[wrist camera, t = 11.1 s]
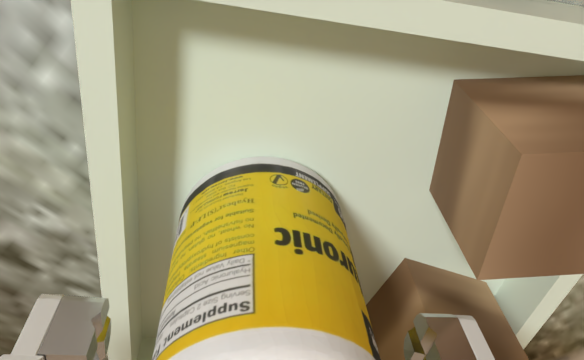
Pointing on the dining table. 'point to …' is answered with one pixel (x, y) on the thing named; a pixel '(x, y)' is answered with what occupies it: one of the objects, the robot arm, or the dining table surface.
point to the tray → (295, 124)
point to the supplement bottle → (263, 271)
